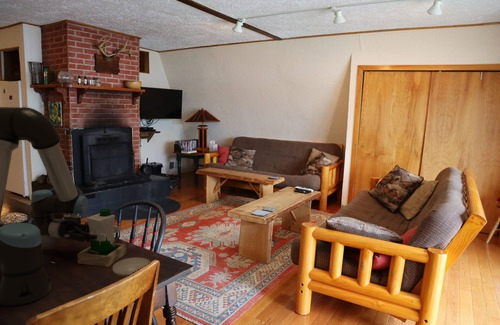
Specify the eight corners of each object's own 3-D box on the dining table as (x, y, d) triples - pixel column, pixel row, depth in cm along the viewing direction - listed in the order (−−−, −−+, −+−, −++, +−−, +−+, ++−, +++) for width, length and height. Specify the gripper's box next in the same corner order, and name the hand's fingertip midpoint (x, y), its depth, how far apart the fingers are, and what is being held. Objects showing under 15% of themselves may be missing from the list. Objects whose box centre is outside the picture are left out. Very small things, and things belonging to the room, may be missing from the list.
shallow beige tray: (108, 266, 140) (107, 257, 139) (78, 263, 143) (77, 253, 142) (126, 253, 153) (126, 244, 152) (99, 250, 155) (98, 241, 155)
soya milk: (119, 256, 150) (117, 210, 146) (101, 264, 142) (98, 216, 138) (104, 251, 154) (102, 207, 150) (86, 259, 146) (83, 212, 142)
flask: (63, 233, 175) (61, 212, 173) (67, 231, 177) (66, 210, 176) (79, 235, 172) (78, 214, 171) (83, 233, 175) (82, 212, 174)
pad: (138, 277, 131) (138, 275, 131) (105, 273, 134) (104, 271, 134) (156, 261, 145) (156, 259, 145) (125, 258, 148) (125, 256, 148)
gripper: (81, 228, 161) (126, 233, 156) (45, 247, 140) (96, 252, 135) (80, 212, 159) (126, 216, 155) (43, 228, 139) (95, 233, 134)
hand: (112, 233), depth 145 cm, fingers closed on soya milk, 9 cm apart
